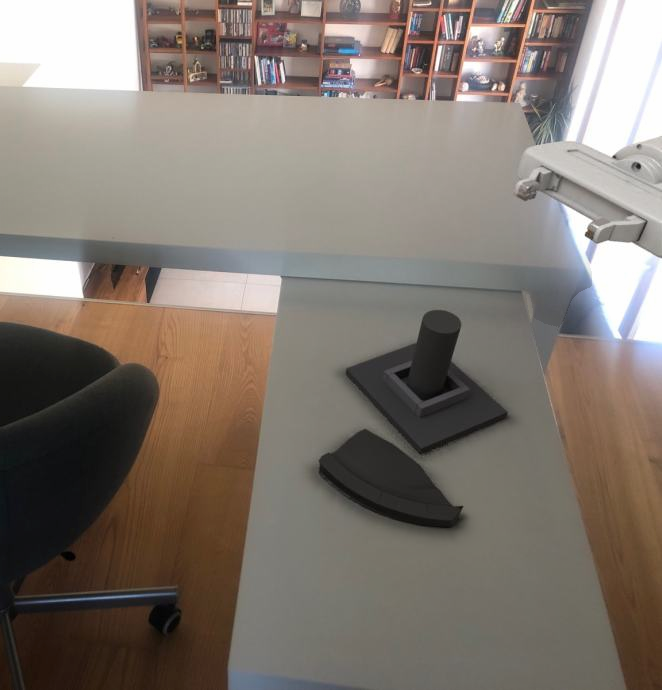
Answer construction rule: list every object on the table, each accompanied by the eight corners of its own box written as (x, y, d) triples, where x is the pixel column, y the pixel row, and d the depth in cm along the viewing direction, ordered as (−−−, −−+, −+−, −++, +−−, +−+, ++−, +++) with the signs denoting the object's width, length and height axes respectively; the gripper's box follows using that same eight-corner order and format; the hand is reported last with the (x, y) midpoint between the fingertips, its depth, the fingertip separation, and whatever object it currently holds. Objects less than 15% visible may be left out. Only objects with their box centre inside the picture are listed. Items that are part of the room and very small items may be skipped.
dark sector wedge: (421, 557, 65) (424, 547, 64) (313, 471, 73) (314, 461, 72) (472, 507, 69) (476, 498, 68) (364, 431, 77) (366, 421, 76)
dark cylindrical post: (449, 391, 80) (469, 324, 73) (424, 405, 78) (442, 338, 72) (423, 371, 82) (441, 305, 76) (399, 384, 81) (414, 317, 74)
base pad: (505, 417, 78) (511, 402, 76) (419, 454, 74) (424, 439, 72) (424, 344, 87) (428, 329, 86) (345, 374, 84) (347, 358, 82)
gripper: (581, 119, 80) (489, 143, 76) (754, 196, 66) (653, 231, 62) (563, 169, 84) (475, 195, 80) (723, 252, 70) (626, 288, 66)
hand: (554, 211), depth 71 cm, fingers open, 8 cm apart
